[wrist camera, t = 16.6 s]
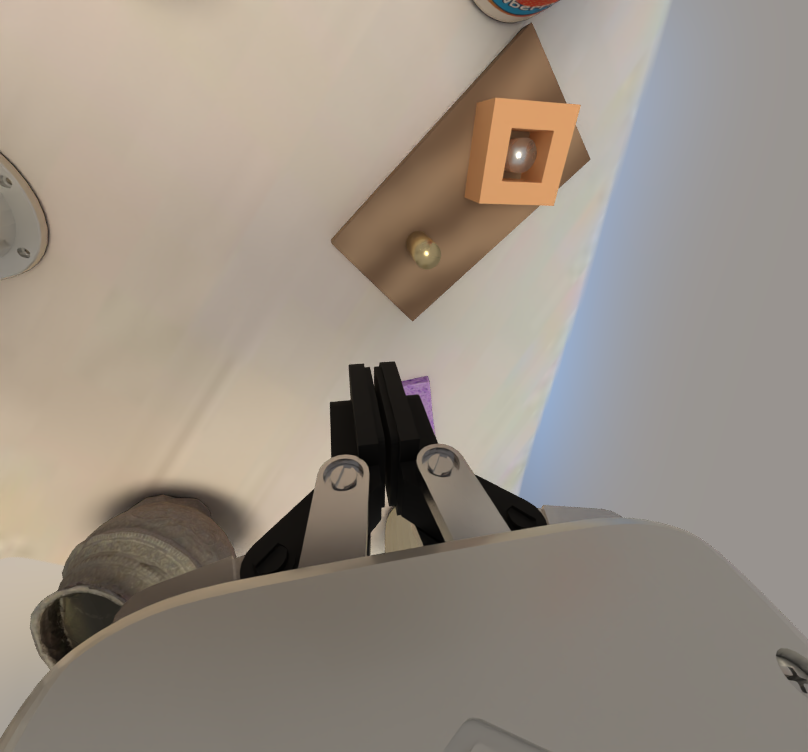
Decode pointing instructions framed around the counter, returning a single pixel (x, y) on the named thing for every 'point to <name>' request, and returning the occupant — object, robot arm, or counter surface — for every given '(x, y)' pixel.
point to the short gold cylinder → (423, 250)
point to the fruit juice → (513, 8)
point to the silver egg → (520, 155)
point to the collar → (490, 147)
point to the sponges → (421, 393)
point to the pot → (124, 568)
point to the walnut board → (449, 189)
